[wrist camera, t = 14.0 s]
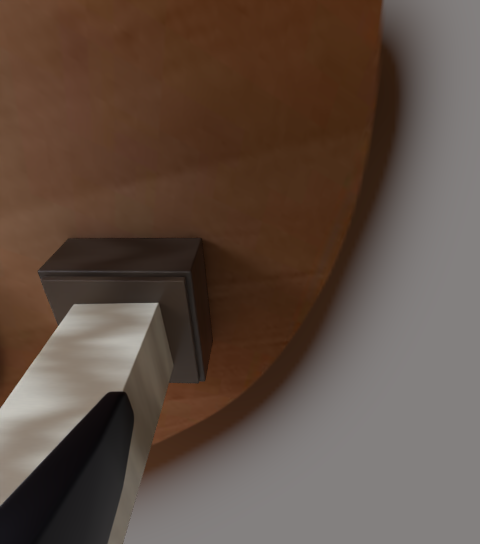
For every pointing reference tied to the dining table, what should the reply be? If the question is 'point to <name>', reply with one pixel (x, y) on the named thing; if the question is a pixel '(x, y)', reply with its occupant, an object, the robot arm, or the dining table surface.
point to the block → (88, 391)
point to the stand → (140, 289)
